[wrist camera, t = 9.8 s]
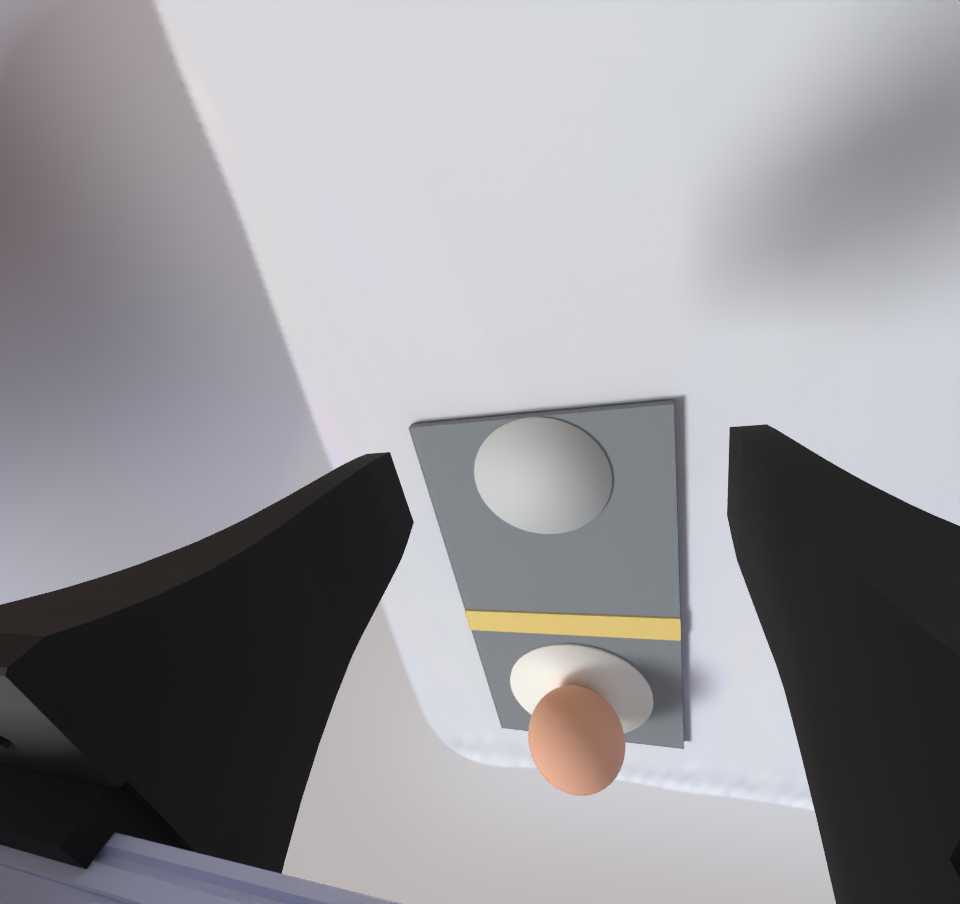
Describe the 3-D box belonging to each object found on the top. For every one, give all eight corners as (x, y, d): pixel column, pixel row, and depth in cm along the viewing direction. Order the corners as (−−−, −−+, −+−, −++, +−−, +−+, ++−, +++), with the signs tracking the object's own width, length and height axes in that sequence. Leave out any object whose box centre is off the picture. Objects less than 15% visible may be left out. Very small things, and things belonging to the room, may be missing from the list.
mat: (683, 742, 28) (684, 750, 28) (503, 721, 32) (501, 729, 31) (673, 399, 18) (674, 405, 18) (411, 424, 22) (407, 429, 21)
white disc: (684, 691, 26) (685, 694, 26) (601, 749, 30) (601, 753, 30) (552, 621, 25) (552, 624, 25) (488, 690, 30) (487, 693, 30)
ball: (643, 694, 26) (647, 794, 22) (593, 731, 29) (589, 826, 25) (562, 652, 26) (552, 745, 22) (520, 693, 29) (504, 783, 25)
